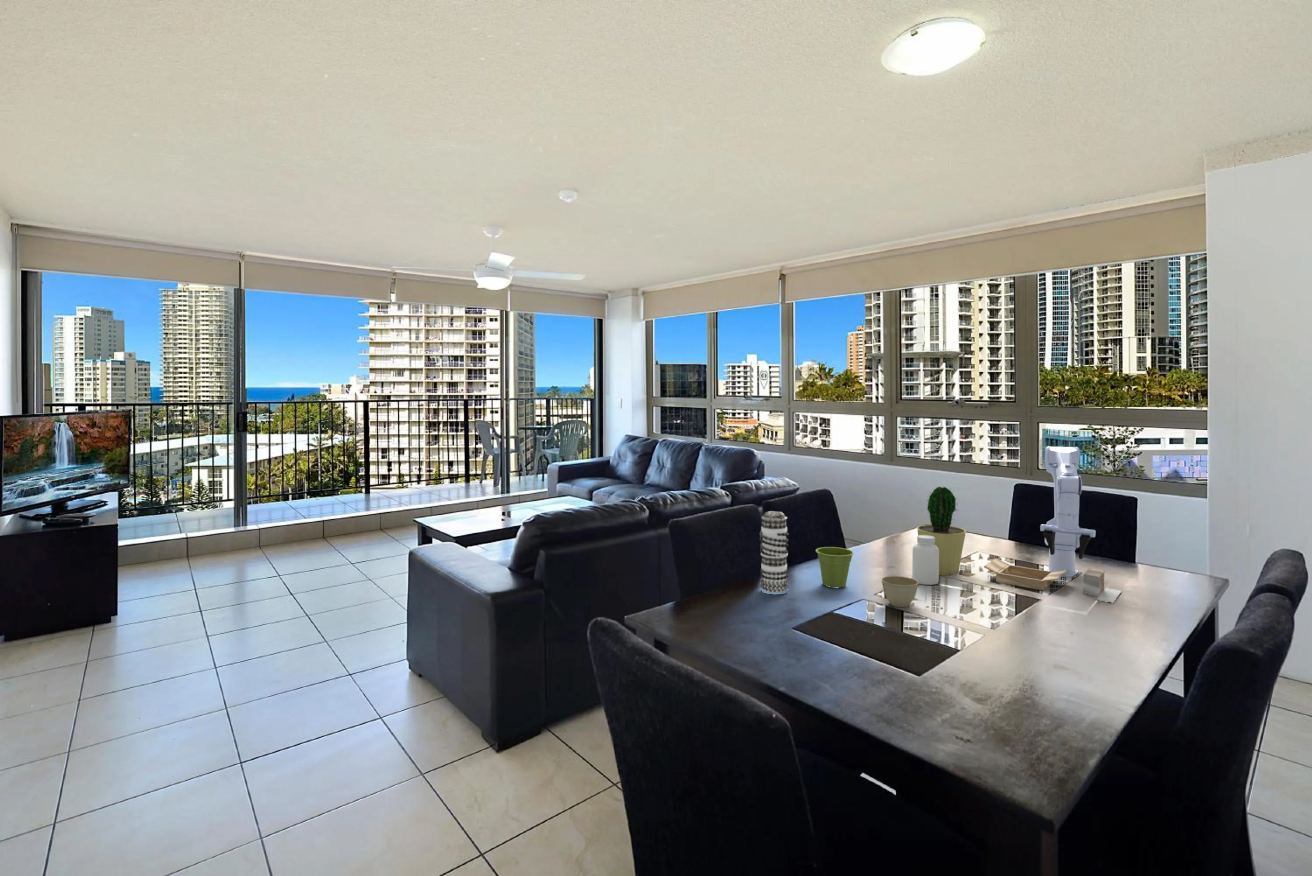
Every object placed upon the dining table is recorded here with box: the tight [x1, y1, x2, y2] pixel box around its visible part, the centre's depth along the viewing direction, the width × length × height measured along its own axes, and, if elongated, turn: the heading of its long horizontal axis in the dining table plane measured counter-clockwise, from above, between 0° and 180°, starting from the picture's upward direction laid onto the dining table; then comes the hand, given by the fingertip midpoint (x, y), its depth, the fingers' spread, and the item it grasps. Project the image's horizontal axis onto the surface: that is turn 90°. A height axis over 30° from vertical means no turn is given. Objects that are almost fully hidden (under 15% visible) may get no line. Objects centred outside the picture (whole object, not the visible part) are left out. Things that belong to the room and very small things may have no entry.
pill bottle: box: [911, 535, 940, 586], centre depth 203 cm, size 8×8×15 cm
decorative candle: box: [759, 510, 790, 592], centre depth 195 cm, size 9×9×25 cm
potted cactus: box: [916, 486, 967, 577], centre depth 214 cm, size 15×15×30 cm
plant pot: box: [815, 546, 855, 588], centre depth 200 cm, size 12×12×11 cm
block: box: [1082, 568, 1105, 597], centre depth 189 cm, size 8×4×6 cm, turn 135°
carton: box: [983, 558, 1068, 591], centre depth 200 cm, size 13×21×5 cm, turn 46°
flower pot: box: [881, 575, 919, 608], centre depth 182 cm, size 10×10×7 cm
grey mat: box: [1095, 587, 1122, 604], centre depth 189 cm, size 14×12×1 cm
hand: (1066, 556), depth 197 cm, fingers open, 7 cm apart
